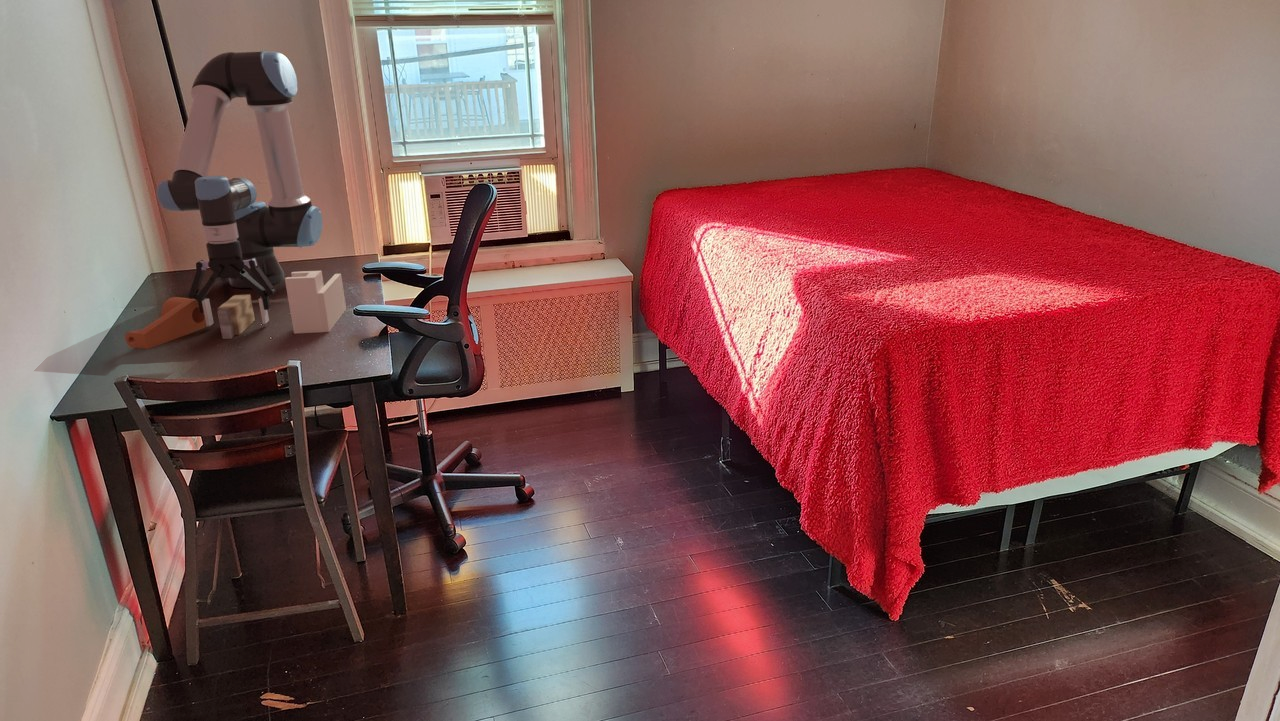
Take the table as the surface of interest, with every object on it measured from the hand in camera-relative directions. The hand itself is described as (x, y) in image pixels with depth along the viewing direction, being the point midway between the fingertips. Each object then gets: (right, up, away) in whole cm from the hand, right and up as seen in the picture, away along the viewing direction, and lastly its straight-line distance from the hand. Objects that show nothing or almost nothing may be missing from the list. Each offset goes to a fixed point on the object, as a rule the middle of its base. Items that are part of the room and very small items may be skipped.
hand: (238, 323), depth 213 cm
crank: (-15, -3, -4) cm, 16 cm away
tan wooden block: (0, -2, -1) cm, 2 cm away
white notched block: (+19, +1, +5) cm, 20 cm away
